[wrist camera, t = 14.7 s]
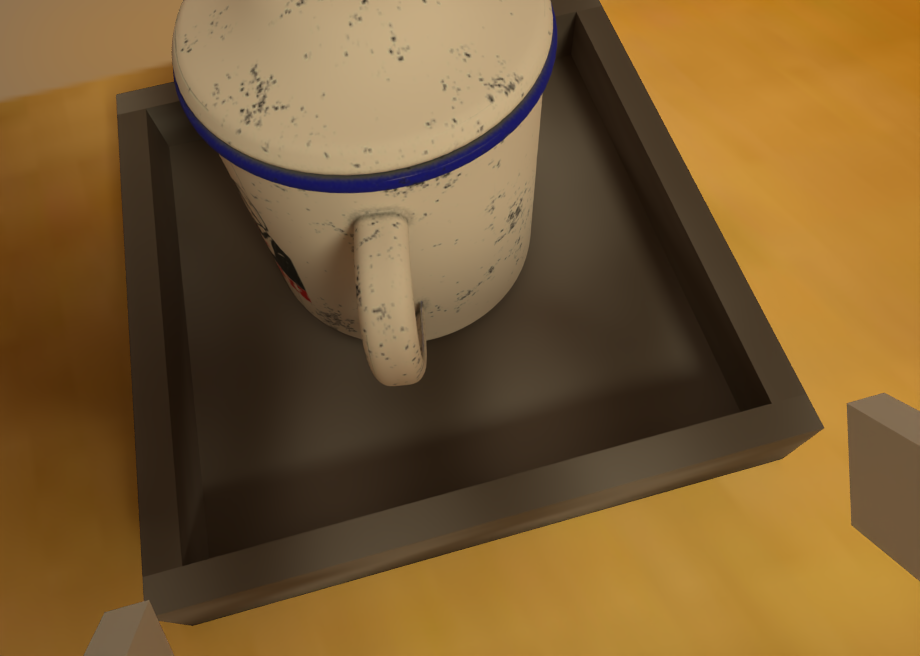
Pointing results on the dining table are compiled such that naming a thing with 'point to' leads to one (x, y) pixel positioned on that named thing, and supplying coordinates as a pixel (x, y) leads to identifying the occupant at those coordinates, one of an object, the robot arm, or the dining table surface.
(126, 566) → the dining table surface
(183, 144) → the tea tray
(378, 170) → the teacup with lid
